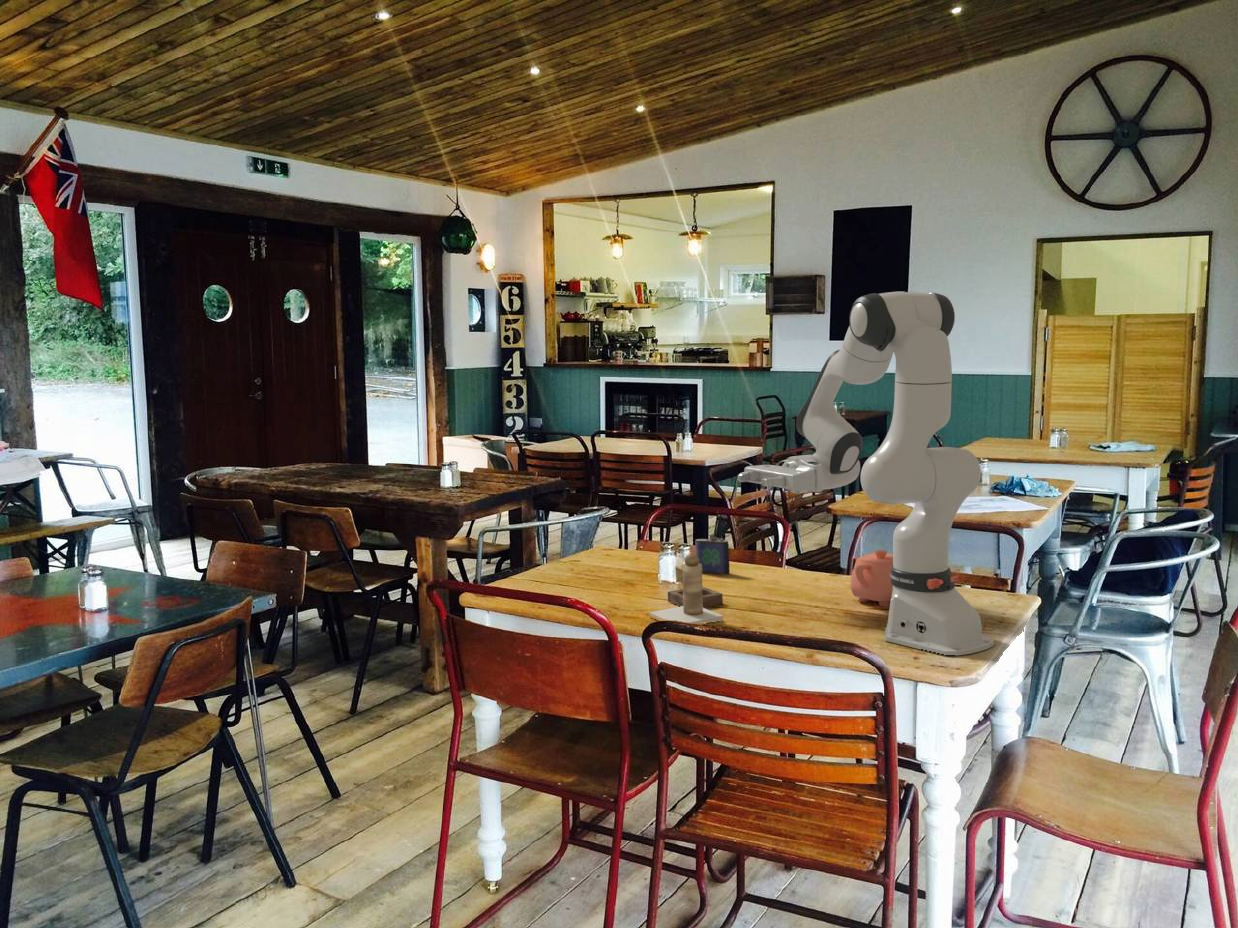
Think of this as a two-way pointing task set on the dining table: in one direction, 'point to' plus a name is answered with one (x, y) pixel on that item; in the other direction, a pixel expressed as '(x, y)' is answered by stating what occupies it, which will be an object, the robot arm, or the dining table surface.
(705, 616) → the board
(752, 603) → the dining table surface
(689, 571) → the mill
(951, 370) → the robot arm
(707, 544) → the flask
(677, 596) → the holder
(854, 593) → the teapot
